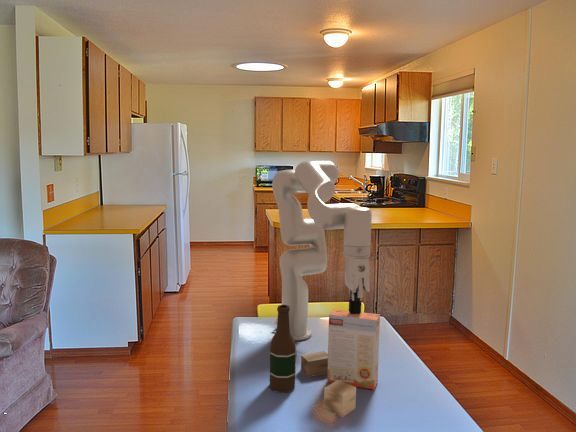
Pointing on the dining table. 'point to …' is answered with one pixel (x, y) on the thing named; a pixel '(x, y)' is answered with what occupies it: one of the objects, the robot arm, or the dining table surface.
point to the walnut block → (314, 363)
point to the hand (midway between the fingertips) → (354, 312)
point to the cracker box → (353, 348)
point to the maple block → (339, 398)
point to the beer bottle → (282, 354)
